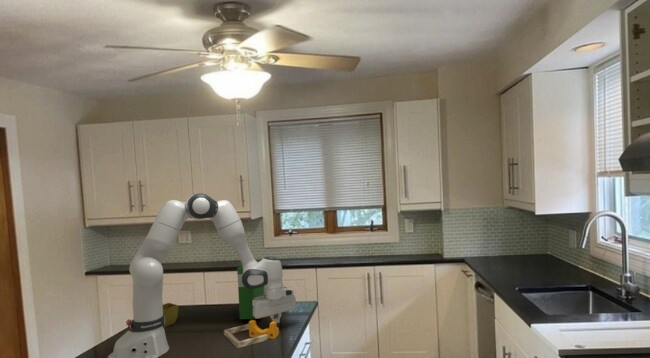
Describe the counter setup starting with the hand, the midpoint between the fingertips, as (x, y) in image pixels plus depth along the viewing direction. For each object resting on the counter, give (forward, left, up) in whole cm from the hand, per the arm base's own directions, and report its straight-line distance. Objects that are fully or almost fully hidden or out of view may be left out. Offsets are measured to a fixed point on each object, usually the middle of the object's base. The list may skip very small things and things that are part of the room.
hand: (275, 323), depth 179 cm
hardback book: (-2, +22, -2) cm, 22 cm away
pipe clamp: (-7, -3, -3) cm, 8 cm away
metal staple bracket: (-14, 0, -3) cm, 15 cm away
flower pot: (-40, +39, -3) cm, 56 cm away
